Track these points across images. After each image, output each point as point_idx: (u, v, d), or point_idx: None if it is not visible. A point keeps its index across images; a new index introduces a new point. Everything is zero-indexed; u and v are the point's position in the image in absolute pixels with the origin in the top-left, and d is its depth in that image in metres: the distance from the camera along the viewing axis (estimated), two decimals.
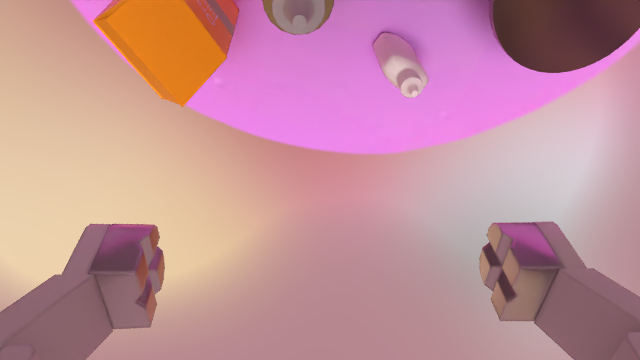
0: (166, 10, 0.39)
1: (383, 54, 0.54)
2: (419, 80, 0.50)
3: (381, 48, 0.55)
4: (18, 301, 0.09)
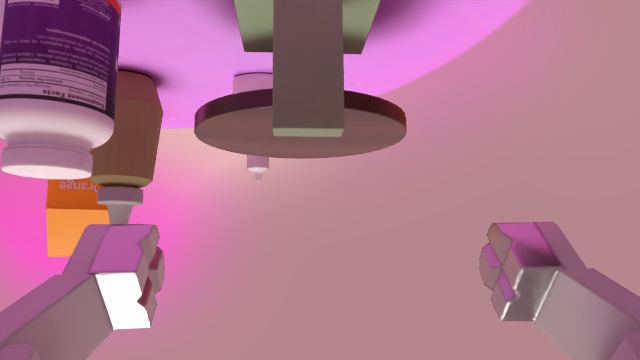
0: (68, 223, 0.59)
1: None
2: (256, 167, 0.53)
3: None
4: (18, 301, 0.09)
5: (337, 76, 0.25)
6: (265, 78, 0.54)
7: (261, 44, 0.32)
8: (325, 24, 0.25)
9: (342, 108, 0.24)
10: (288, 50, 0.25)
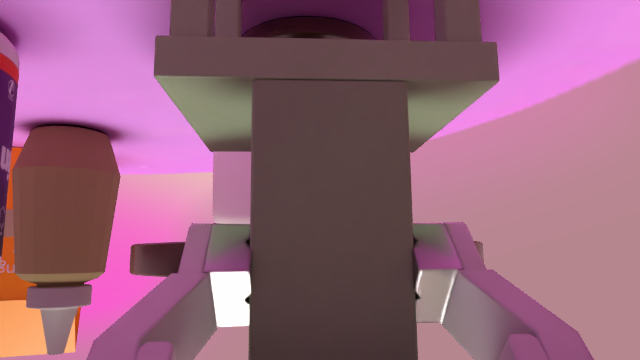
0: None
1: None
2: None
3: None
4: (144, 299, 0.09)
5: (401, 288, 0.10)
6: None
7: (238, 144, 0.18)
8: (372, 161, 0.11)
9: None
10: (286, 227, 0.11)
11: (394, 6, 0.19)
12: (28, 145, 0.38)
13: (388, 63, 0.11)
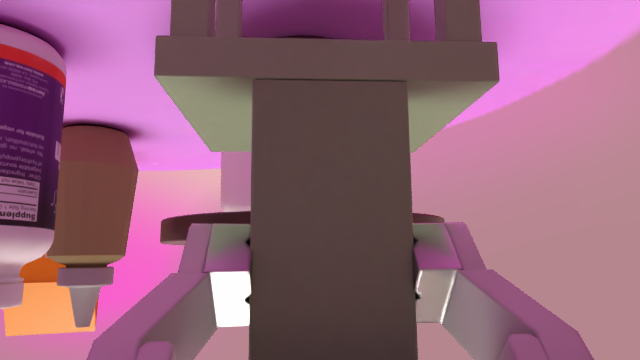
0: (28, 299, 0.50)
1: None
2: None
3: None
4: (144, 299, 0.09)
5: (401, 288, 0.10)
6: None
7: (238, 144, 0.18)
8: (372, 161, 0.11)
9: None
10: (286, 227, 0.11)
11: (395, 6, 0.19)
12: None
13: (388, 63, 0.11)
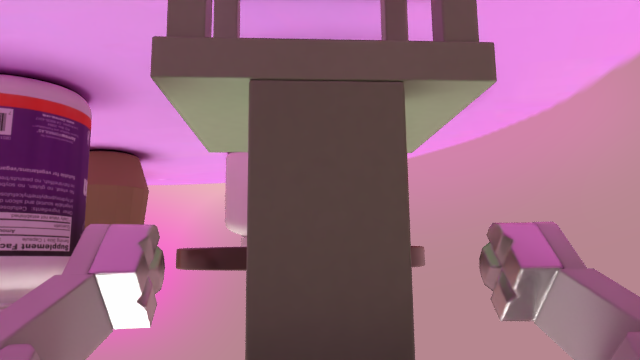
0: None
1: None
2: None
3: None
4: (18, 301, 0.09)
5: (398, 289, 0.10)
6: None
7: (236, 145, 0.18)
8: (369, 162, 0.11)
9: None
10: (283, 228, 0.11)
11: (393, 6, 0.19)
12: None
13: (385, 63, 0.11)
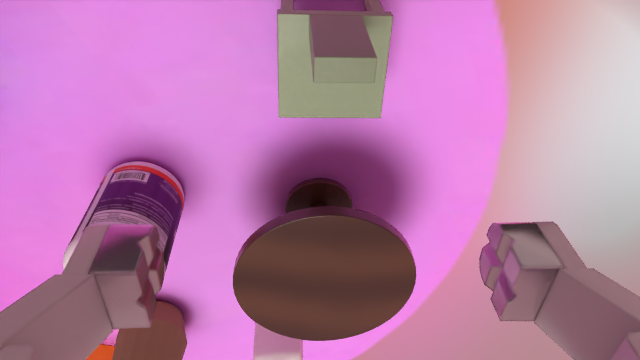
0: None
1: None
2: None
3: None
4: (18, 301, 0.09)
5: (365, 40, 0.29)
6: None
7: (294, 103, 0.37)
8: (351, 24, 0.32)
9: (373, 50, 0.28)
10: (323, 31, 0.30)
11: None
12: None
13: (354, 13, 0.34)
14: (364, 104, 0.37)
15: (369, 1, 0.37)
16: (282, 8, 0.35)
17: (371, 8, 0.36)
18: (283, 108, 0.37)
